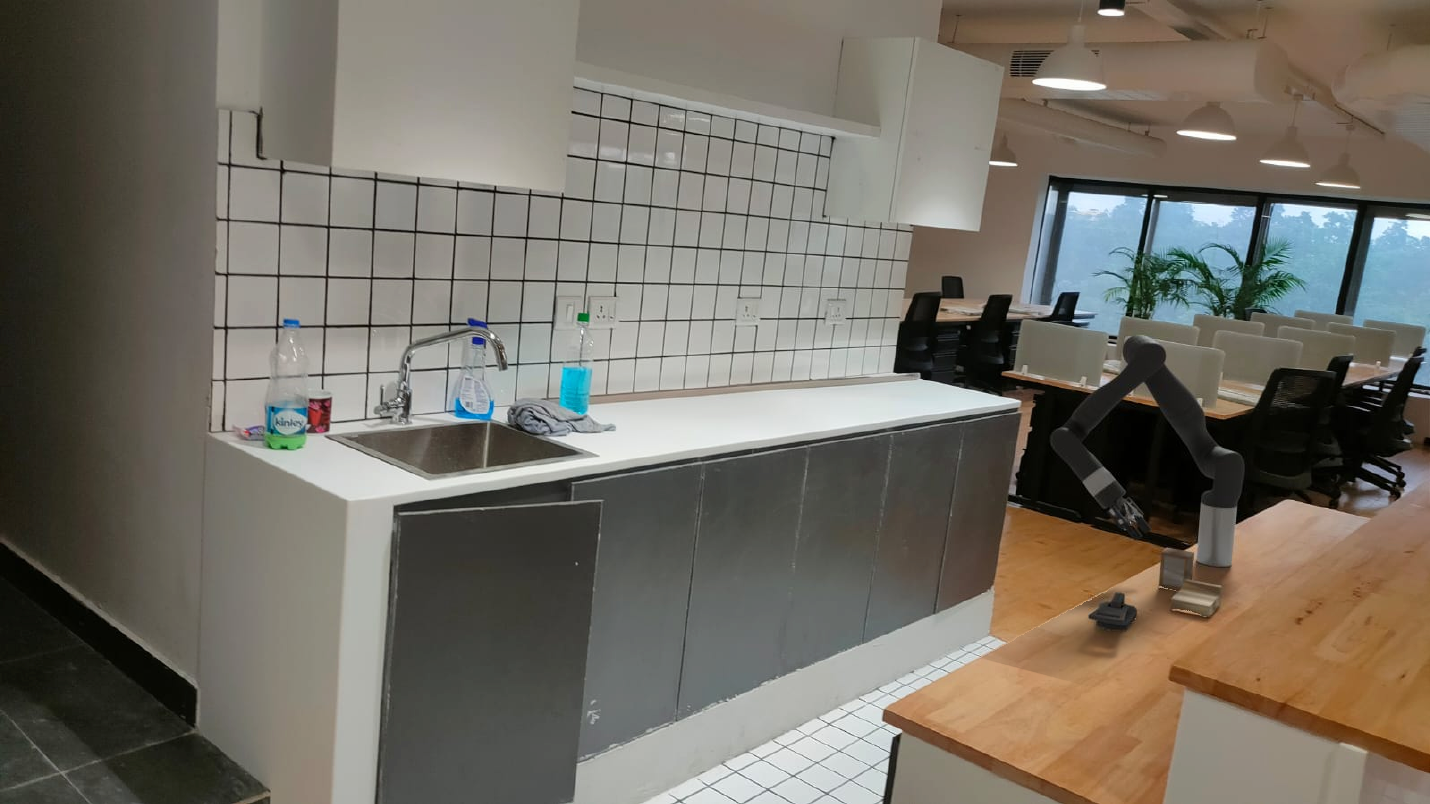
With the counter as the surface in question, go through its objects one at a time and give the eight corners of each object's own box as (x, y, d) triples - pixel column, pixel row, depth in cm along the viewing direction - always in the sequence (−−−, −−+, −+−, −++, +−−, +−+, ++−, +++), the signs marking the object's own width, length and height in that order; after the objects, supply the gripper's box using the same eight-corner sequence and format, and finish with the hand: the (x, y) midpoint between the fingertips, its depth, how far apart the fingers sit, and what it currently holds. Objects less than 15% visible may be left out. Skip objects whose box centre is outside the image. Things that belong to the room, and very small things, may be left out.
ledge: (1182, 597, 278) (1184, 578, 277) (1220, 604, 273) (1221, 585, 272) (1170, 610, 269) (1171, 591, 268) (1208, 618, 263) (1210, 598, 263)
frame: (1163, 583, 289) (1166, 547, 287) (1191, 588, 285) (1194, 552, 283) (1158, 588, 285) (1161, 552, 283) (1186, 593, 281) (1189, 557, 279)
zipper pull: (1085, 614, 248) (1102, 583, 269) (1083, 641, 249) (1100, 608, 270) (1126, 621, 243) (1140, 589, 265) (1124, 649, 244) (1138, 614, 266)
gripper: (1105, 484, 286) (1147, 533, 281) (1122, 474, 297) (1162, 521, 292) (1084, 500, 290) (1125, 549, 285) (1101, 490, 301) (1141, 536, 296)
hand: (1144, 535), depth 288 cm, fingers open, 8 cm apart
